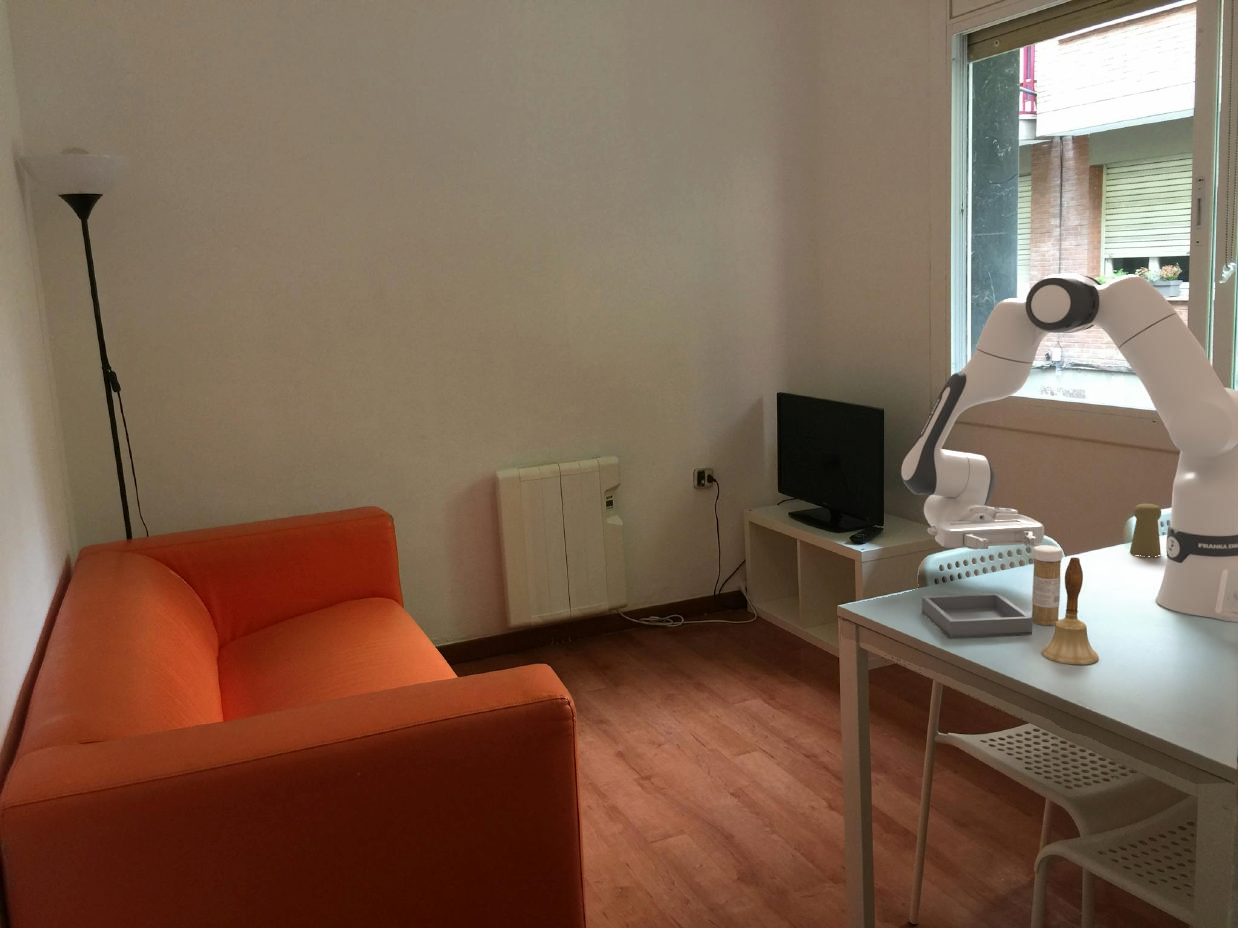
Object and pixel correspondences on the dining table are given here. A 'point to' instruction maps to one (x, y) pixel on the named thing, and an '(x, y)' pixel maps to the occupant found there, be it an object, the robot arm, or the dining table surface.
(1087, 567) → the dining table surface
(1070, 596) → the hand bell
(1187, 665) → the dining table surface
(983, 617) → the box
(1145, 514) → the cork
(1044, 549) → the sprinkles bottle
